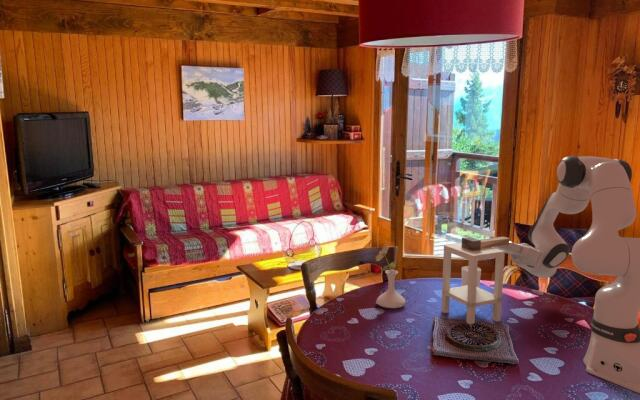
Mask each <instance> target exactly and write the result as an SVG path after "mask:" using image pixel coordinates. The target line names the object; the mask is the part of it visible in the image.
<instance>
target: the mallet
mask: <svg viewBox="0 0 640 400" xmlns="http://www.w3.org/2000/svg"><path fill="white" fill-rule="evenodd" d="M510 240H511V239H510V237H506V236H496V238H490V237H488V238H483V239H479V238H475V237H471V236H463V237H461V243H462V247H463V248H466V249H468V250H471V251H476V250H480V249H481V248H488V247H493V248H494V247H495V246H502V245H508V243H509V242H510Z"/></svg>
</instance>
